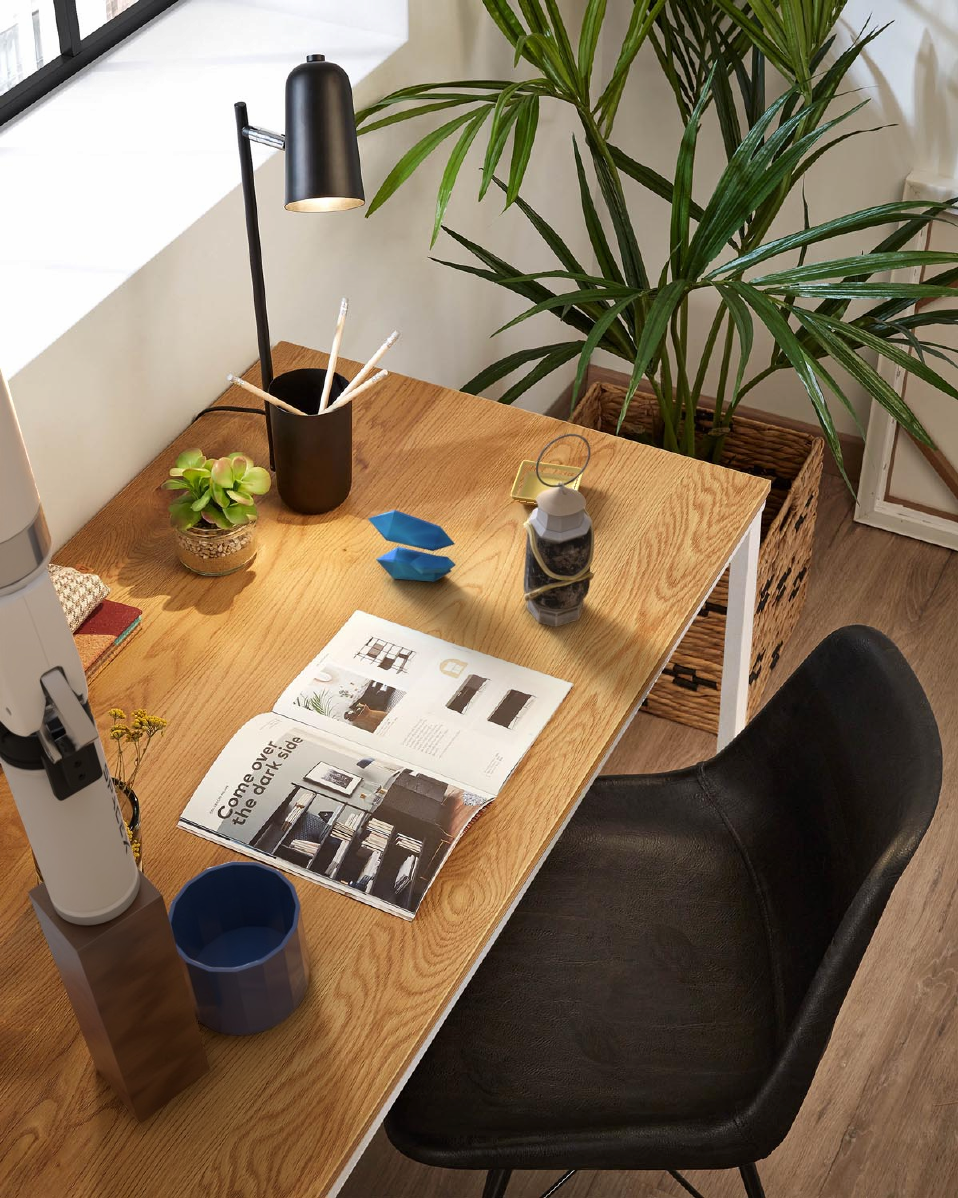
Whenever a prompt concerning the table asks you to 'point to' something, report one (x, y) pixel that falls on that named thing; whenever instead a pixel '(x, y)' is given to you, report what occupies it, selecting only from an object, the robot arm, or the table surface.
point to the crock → (241, 946)
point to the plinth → (129, 998)
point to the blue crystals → (417, 535)
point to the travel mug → (72, 832)
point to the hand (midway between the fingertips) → (48, 753)
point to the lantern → (558, 552)
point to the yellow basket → (535, 487)
